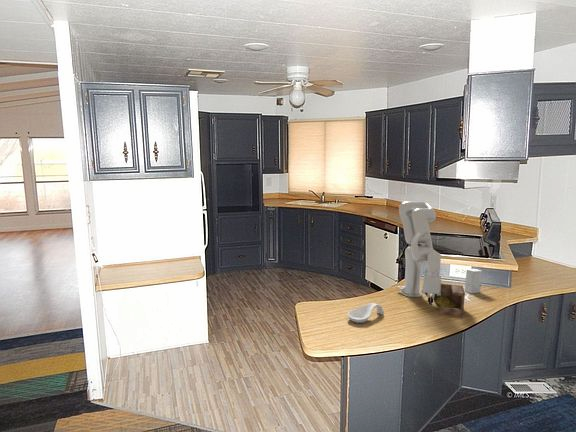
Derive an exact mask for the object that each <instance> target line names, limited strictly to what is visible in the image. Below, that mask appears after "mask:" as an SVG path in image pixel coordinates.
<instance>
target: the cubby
mask: <svg viewBox="0 0 576 432" xmlns="http://www.w3.org/2000/svg"><path fill="white" fill-rule="evenodd" d="M441 295H444V296H445V297H447V298H448V299H449V300H450V301H452V302H453V303H454V304H455V305H456V306H457V308H449V307H441V306H440V308H439V315H445V316H446V315H447V316H451V317H453V316H454V317H460V318H462V317H463V316H464V310H465V309H464V308H465V307H464V306H465V298H466V291H465V287H464V286H463V285H460V284H459V285H458V284H450V283H449V284H448V283H442V282H441Z"/></svg>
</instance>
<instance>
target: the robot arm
mask: <svg viewBox="0 0 576 432" xmlns="http://www.w3.org/2000/svg"><path fill="white" fill-rule="evenodd" d="M398 214H399V217H400V221H401V223H402V227H403V228H402V229H403V233H404V239H405V242H406V244H409V246H407V247H406V248H405V249H404V250H405V251H404V253H405V254H404V255H405V256H404V257H405V271H404V274H405V275H404V285H402V286H400V285H397V286H396V290H398V291H401V295H403V296H405V297H409V298H421V297H422V295H425V296H426V297H427V303H428V305H431V306H432V304H433V303H434V297H436V296H438V295H441V283H442V277H441V275H440V274H441V273H440V272H441V261H442V260H441V259H442V255H441V253H440V252H439V251H436V250H435V249H434V247H433V242H432V241H433V240H432V235H431V233H430V230H431V229H430V227H429V223H431V222H434V221H436V218H437V214H436V211H435V209H434V208H433V207H432V206H431V205H430V204H429V203H428V202H426V201H423V200H422V201H421V200H420V201H419V200H418V201H417V200H416V201H415V200H413V201H412V200H411V201H410V200H409V201H403V202H401V203H400V204H399V206H398ZM423 262H425V264H426V265H425V266H426V268H425V270H423V272H422V266H421V264H420V263H423ZM422 273H423V274H424V276H423V278H422V277H421V276H422ZM421 278H422V286H421ZM421 288H422V289H421ZM420 290H421V291H420ZM430 294H431V295H430Z"/></svg>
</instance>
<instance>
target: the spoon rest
mask: <svg viewBox="0 0 576 432" xmlns="http://www.w3.org/2000/svg"><path fill="white" fill-rule="evenodd" d="M375 307H376V313H378V314H379V315H382V316H383V315H384V314H385V313H384V309H383V307H382V305H380V304H377V303H374V302H370V303H367V304H366V305H363V306H360V307H358V308H355V309H352V310H350V311H348V313H347V317H348V318H349V320H351V321H352V322H354V323H357V324H362V323H365V322H366V321H368V320H369V318H370V317H371V315H372V312H373V310H374V309H375Z"/></svg>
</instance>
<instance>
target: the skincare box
mask: <svg viewBox="0 0 576 432" xmlns="http://www.w3.org/2000/svg"><path fill="white" fill-rule="evenodd" d="M482 275H483V270H480V269H478V268H471V269H470V268H467V269H466V274H465V285H464V292H465V293H466V292H467V293H469V294H476V293H477V294H478V293H481V288H482V287H481V286H482V277H483V276H482Z"/></svg>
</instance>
